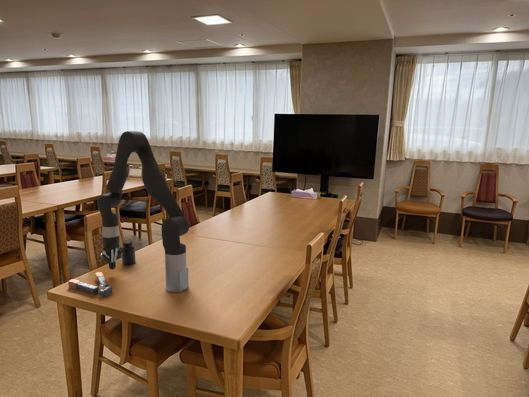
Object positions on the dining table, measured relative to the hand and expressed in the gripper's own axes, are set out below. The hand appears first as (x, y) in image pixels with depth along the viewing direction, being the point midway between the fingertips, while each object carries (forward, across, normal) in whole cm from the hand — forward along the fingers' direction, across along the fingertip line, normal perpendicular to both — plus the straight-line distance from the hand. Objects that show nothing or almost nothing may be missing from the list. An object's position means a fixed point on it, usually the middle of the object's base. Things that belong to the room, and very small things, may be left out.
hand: (112, 268), depth 180 cm
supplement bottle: (+4, +15, +6) cm, 17 cm away
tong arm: (+3, -10, -5) cm, 12 cm away
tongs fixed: (+3, -17, -5) cm, 18 cm away
